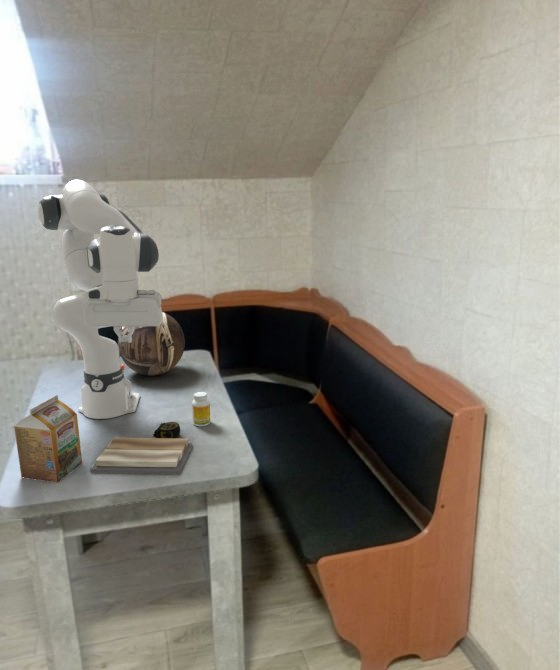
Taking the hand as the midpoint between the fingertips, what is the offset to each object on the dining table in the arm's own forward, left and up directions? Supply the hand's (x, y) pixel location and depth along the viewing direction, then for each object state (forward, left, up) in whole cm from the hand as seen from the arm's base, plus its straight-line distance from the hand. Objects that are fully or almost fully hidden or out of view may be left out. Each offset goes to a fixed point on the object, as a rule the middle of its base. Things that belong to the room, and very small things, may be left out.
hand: (125, 342), depth 152 cm
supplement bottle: (-19, +15, -31) cm, 40 cm away
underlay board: (+5, +4, -31) cm, 32 cm away
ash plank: (+8, +4, -30) cm, 31 cm away
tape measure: (-9, +6, -32) cm, 33 cm away
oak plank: (+1, +4, -30) cm, 30 cm away
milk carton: (+12, -18, -31) cm, 38 cm away
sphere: (-66, -13, -31) cm, 74 cm away
